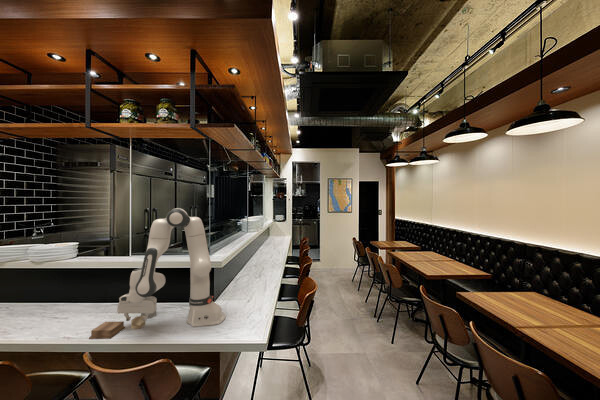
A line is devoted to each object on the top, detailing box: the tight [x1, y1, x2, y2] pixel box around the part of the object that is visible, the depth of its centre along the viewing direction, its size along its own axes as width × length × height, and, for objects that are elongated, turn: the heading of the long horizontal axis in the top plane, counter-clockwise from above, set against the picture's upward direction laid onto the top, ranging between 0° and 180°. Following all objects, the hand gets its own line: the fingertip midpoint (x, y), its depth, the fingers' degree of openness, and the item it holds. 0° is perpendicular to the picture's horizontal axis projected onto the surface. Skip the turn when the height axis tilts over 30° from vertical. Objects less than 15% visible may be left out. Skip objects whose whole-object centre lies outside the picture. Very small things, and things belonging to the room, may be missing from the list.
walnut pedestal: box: [88, 320, 126, 340], centre depth 133 cm, size 11×11×4 cm
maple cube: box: [130, 315, 146, 330], centre depth 141 cm, size 5×5×5 cm
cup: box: [140, 297, 158, 320], centre depth 155 cm, size 8×8×10 cm
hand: (136, 320), depth 140 cm, fingers open, 8 cm apart
